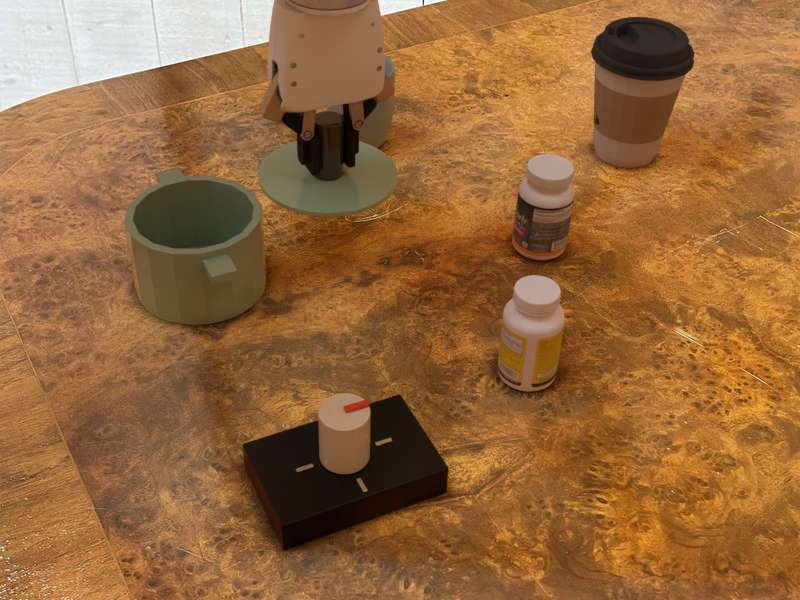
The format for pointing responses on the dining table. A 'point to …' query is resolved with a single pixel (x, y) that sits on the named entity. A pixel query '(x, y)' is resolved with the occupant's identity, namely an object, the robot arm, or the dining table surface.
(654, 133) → the coffee cup
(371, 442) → the panel
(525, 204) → the pill bottle
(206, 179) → the pot
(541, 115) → the dining table surface
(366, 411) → the knob
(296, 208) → the pot lid
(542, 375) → the supplement bottle
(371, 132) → the cup
